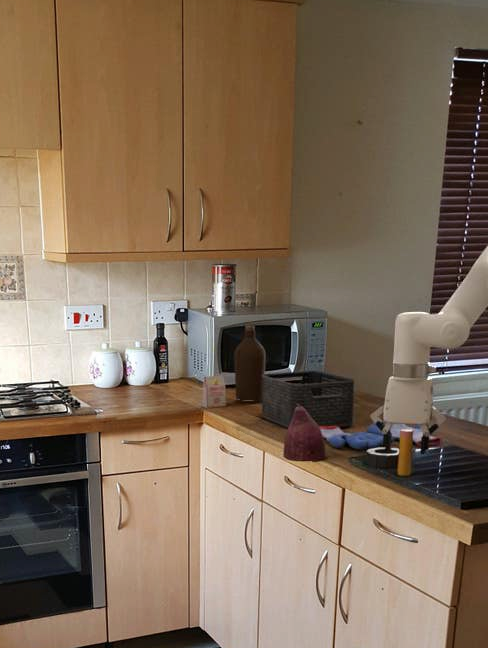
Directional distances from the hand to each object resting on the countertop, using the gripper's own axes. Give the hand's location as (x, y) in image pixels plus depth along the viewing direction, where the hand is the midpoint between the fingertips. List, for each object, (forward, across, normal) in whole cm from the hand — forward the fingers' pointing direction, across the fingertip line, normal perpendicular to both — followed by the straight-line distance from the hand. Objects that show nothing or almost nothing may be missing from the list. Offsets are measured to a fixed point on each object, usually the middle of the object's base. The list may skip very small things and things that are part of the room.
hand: (405, 451), depth 195 cm
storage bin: (+5, +39, -56) cm, 68 cm away
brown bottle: (+5, +68, -88) cm, 111 cm away
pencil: (+5, 0, 0) cm, 5 cm away
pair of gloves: (+5, +13, -35) cm, 38 cm away
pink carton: (+5, +76, -75) cm, 107 cm away
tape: (+5, +6, -9) cm, 12 cm away
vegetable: (+5, +26, -10) cm, 28 cm away
